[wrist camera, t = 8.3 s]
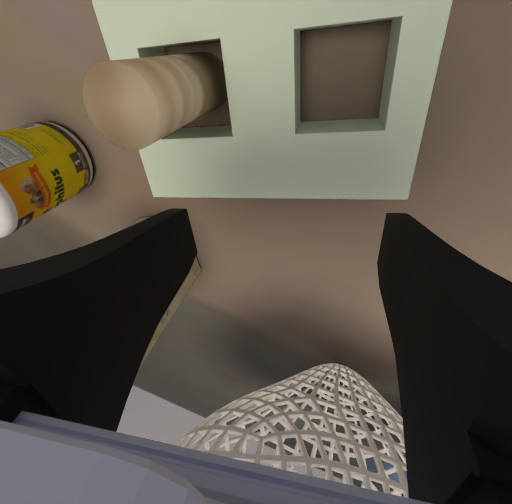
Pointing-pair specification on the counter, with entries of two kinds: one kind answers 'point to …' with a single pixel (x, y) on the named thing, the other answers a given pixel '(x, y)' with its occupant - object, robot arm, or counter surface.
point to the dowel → (152, 95)
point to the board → (284, 97)
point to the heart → (312, 428)
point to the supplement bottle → (39, 172)
